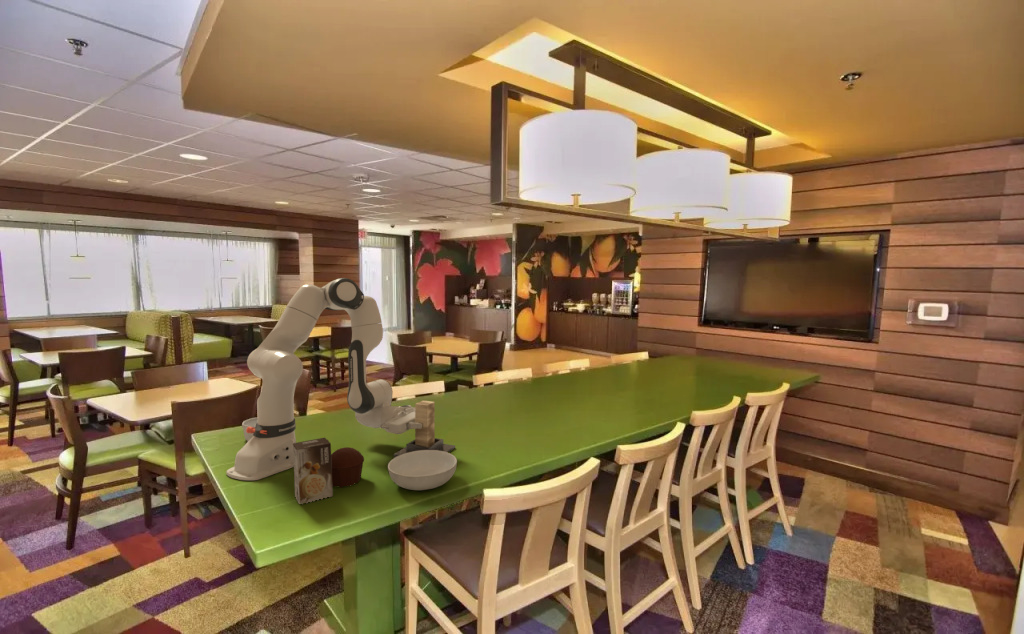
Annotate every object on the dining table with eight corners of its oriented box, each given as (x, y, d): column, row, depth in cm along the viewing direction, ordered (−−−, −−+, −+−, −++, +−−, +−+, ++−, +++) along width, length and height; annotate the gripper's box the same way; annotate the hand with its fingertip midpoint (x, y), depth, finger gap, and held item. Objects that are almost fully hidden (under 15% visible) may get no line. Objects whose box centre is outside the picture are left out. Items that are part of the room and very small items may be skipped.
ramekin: (287, 436, 183) (287, 419, 183) (255, 446, 172) (254, 428, 171) (268, 430, 190) (267, 414, 189) (235, 440, 179) (234, 422, 178)
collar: (432, 463, 157) (432, 452, 157) (393, 456, 163) (393, 445, 163) (455, 448, 172) (455, 437, 172) (418, 442, 178) (418, 432, 178)
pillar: (427, 449, 164) (427, 405, 163) (415, 447, 166) (415, 403, 165) (434, 444, 169) (434, 402, 168) (422, 442, 171) (422, 400, 169)
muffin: (365, 486, 140) (364, 454, 139) (326, 491, 136) (325, 459, 135) (363, 471, 151) (362, 441, 150) (326, 475, 147) (326, 445, 146)
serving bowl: (427, 464, 157) (426, 444, 157) (470, 481, 144) (470, 460, 143) (374, 484, 141) (373, 463, 141) (418, 506, 128) (417, 482, 127)
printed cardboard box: (327, 488, 138) (326, 436, 137) (333, 497, 133) (332, 442, 132) (294, 496, 133) (292, 442, 131) (298, 505, 127) (297, 449, 126)
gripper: (377, 418, 162) (410, 423, 157) (410, 403, 181) (441, 407, 176) (377, 435, 162) (410, 441, 157) (410, 419, 181) (441, 423, 176)
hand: (427, 423), depth 167 cm, fingers closed on pillar, 5 cm apart
